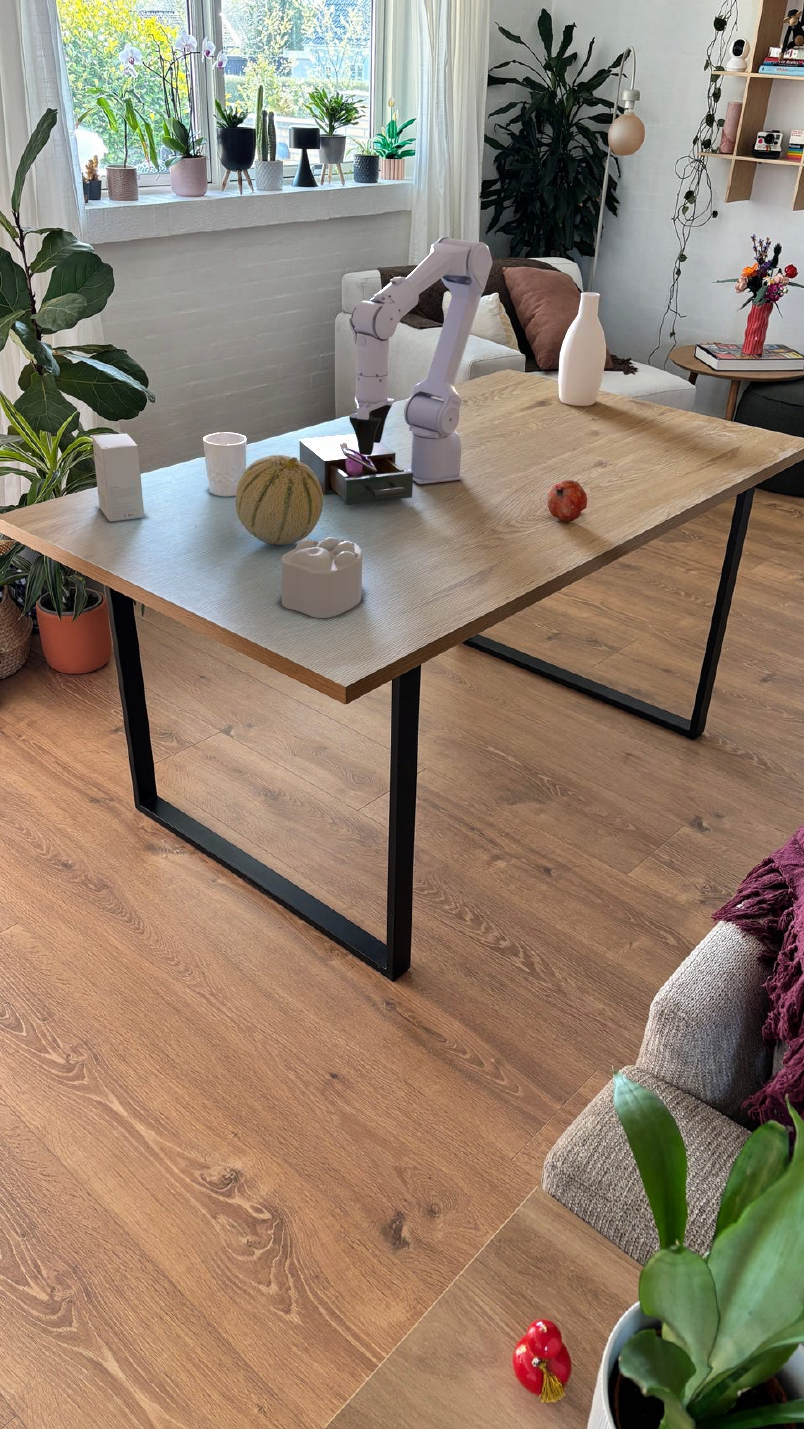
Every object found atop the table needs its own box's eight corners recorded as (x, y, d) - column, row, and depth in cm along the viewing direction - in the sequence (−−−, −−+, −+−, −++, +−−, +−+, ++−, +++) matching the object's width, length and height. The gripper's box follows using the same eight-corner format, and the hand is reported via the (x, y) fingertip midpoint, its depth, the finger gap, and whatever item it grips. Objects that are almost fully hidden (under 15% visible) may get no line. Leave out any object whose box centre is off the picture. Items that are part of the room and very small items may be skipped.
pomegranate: (557, 520, 205) (528, 497, 198) (581, 488, 204) (553, 464, 196) (581, 537, 200) (553, 514, 193) (606, 505, 199) (579, 480, 192)
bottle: (554, 405, 267) (566, 296, 254) (556, 394, 276) (567, 288, 263) (599, 409, 265) (614, 299, 252) (600, 397, 275) (614, 291, 262)
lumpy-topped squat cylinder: (272, 603, 164) (271, 549, 160) (324, 575, 174) (324, 524, 169) (327, 622, 159) (327, 567, 155) (377, 592, 169) (379, 540, 164)
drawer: (423, 506, 200) (424, 480, 198) (356, 514, 195) (356, 488, 193) (385, 476, 213) (385, 452, 211) (321, 484, 208) (321, 459, 206)
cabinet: (394, 486, 212) (395, 453, 208) (324, 494, 206) (324, 460, 203) (366, 465, 222) (367, 433, 219) (299, 472, 217) (299, 439, 213)
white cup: (240, 499, 202) (238, 447, 197) (200, 495, 203) (196, 442, 198) (253, 486, 208) (252, 434, 203) (214, 482, 210) (211, 430, 205)
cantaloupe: (243, 523, 192) (240, 439, 184) (326, 527, 192) (327, 443, 184) (229, 556, 179) (225, 467, 171) (318, 560, 179) (318, 471, 171)
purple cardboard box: (346, 450, 196) (341, 439, 204) (333, 475, 197) (328, 463, 205) (378, 467, 198) (372, 456, 206) (365, 492, 200) (359, 480, 208)
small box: (145, 518, 192) (138, 445, 185) (109, 522, 190) (101, 449, 183) (133, 503, 198) (127, 432, 192) (98, 507, 196) (90, 435, 189)
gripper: (385, 385, 187) (383, 462, 194) (401, 365, 199) (399, 438, 206) (345, 381, 188) (344, 458, 195) (364, 362, 200) (362, 435, 207)
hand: (370, 448), depth 201 cm, fingers open, 7 cm apart
